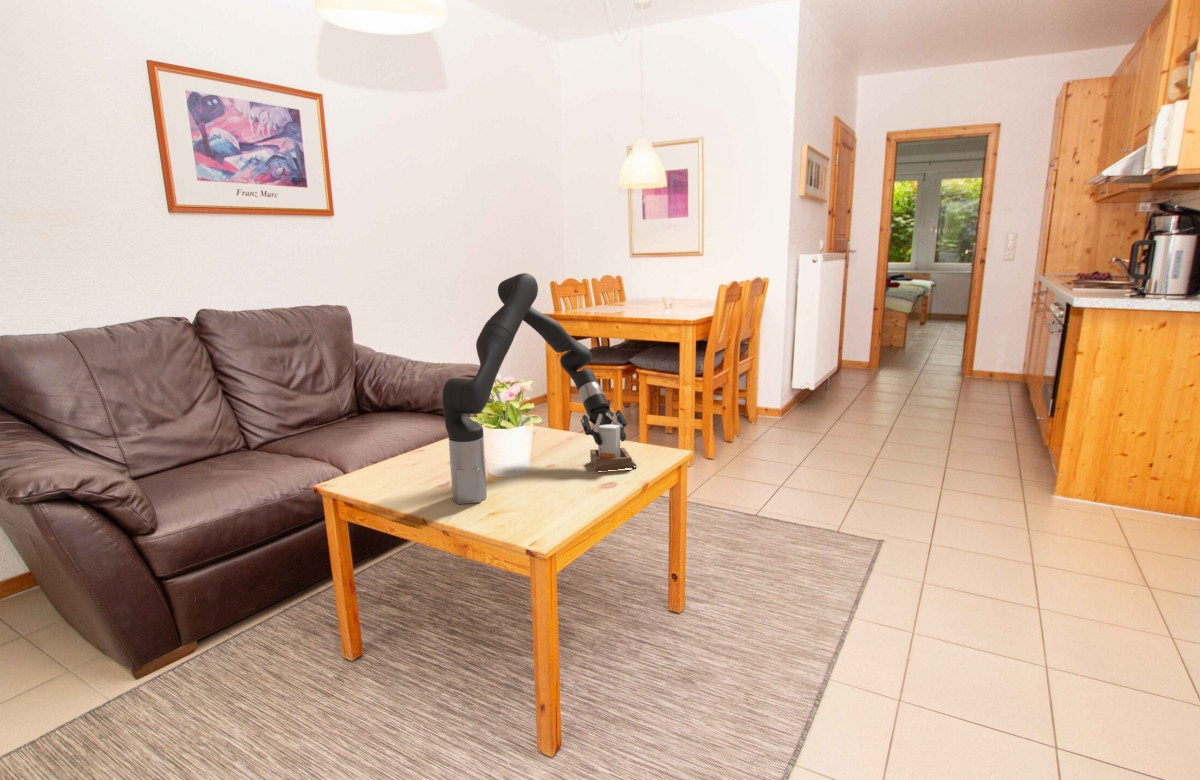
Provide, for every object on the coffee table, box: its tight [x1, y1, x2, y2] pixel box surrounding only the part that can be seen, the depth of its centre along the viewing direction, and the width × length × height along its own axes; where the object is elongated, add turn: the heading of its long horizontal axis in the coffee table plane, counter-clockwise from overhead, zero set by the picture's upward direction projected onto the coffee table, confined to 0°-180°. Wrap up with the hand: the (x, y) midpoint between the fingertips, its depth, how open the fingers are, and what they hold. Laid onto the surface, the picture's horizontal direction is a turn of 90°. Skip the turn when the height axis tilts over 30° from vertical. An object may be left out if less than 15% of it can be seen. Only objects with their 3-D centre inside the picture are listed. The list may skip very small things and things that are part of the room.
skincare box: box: [597, 423, 621, 459], centre depth 197 cm, size 6×4×12 cm
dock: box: [589, 447, 638, 473], centre depth 198 cm, size 11×13×4 cm
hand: (612, 442), depth 195 cm, fingers open, 8 cm apart
